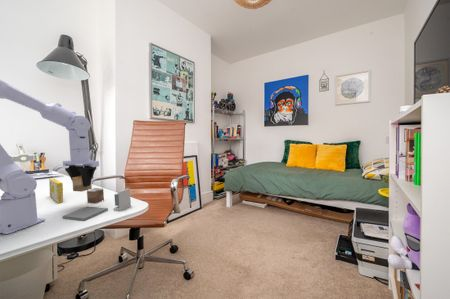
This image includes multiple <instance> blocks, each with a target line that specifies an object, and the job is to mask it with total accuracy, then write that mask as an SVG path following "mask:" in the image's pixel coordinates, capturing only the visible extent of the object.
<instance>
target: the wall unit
mask: <svg viewBox="0 0 450 299" xmlns="http://www.w3.org/2000/svg"><path fill="white" fill-rule="evenodd" d="M113 196H114V206H115V207H114V208H113V211H115V210H116V212H117V211H119V212H122V211H123V210H124V211H125V209H129V208H130V207H131V206H132V204H131V202H132V200H131V189H130V188H128V187H127V188H125V189H123V190H119V191H118V193H115V194H114V195H113Z"/></svg>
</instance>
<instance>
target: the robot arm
mask: <svg viewBox="0 0 450 299" xmlns="http://www.w3.org/2000/svg"><path fill="white" fill-rule="evenodd" d="M0 99H6V100H8V101H11V102H14V103H15V104H18V105H21V106H22V107H23V106H24V107H26V108H29V109H31V110H34V111H36V112H38V113H39V114H40V116H41V117H42V119H45V120H47V121H49V122H52V123H53V124H56V125H59V126H61V127H63V128H65V129H66V130H67V131H68V139H69V141H68V142H69V157H70V160H63V161H62V166H63V167H65V168H64V169H65V170H64V171H65V172H66V173H67V174H68V175H69V177H70V180H71V181H72V177H77V176H82V181H83V186H84V187H87V186H90V184H92V178H93V176H94V173H95V171H96V170H97V167H99V166H100V162H99V160H92V159H90V158H91V157H90V144H89V142H90V141H89V130H90V129H91V127H92V124H91V123H90V120H88V118H87V116H86V117H85V116H84V115H77V112H75V111H70V110H69V109H66V108H65V107H63V105H62V104H60V103H58V102H57V103H54V102H50V103H48V102H47V103H45V102H43V101H41V100H39V99H38V98H35V97H34V96H32V95H30V94H28V93H27V92H24V91H22V90H20V89H18V88H17V87H16V86H15V87H14V85H11V84H9V83H7V82H6V81H4V80H2V79H0ZM37 183H38V182H37V181H36V179H35V177H33V176H31V175H28V173H26V172H24V169H22V168H21V167H20V166H19V165H18V164H16V162H15V161H14V160H13V158H12V156H10V155H9V154H8V152H7V151H6V149H5V148H4V147H3V145H2V144H1V143H0V190H1V191H2V192H3V193H2V195H1V196H0V234H1V233H3V235H10V234H11V233H15V232H18V231H20V230H22V229H23V230H24V229H25V228H29V227H31V226H34V225H36V224H37V225H38V224H39V223H41V222H44V221H46V218H40V217H38V211H37V199H36V198H37V197H36V191H35V190H36V189H37V185H38V184H37Z"/></svg>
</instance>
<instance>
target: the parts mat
mask: <svg viewBox="0 0 450 299" xmlns="http://www.w3.org/2000/svg"><path fill="white" fill-rule="evenodd" d="M107 211H109V208H108V207H99V206H97V207H95V206H85V207H83V208H81V209H78V210H75V211H72V212H70V213H67V214H64V215H62V219H63V220H74V221H80V222H82V221H83V222H86V221H88V220H90V219H92V218H95V217H96V216H98V215H102V214H104V213H106V212H107Z"/></svg>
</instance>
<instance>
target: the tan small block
mask: <svg viewBox="0 0 450 299" xmlns="http://www.w3.org/2000/svg"><path fill="white" fill-rule="evenodd" d="M71 183H72V190H73V192H79V193H80V192H81V193H82V192H85V191H86V192H87V190H90V189H93V187H92V186H93V185H92V183H91V184H90V186H87V187H84V186H83V181H82V176H77V177H72V180H71Z"/></svg>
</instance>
